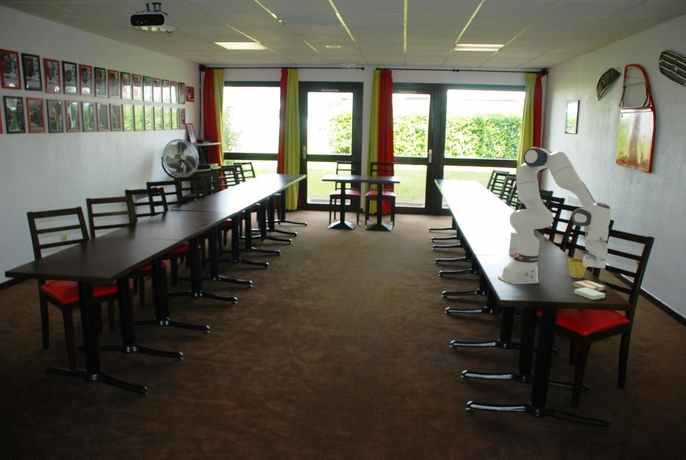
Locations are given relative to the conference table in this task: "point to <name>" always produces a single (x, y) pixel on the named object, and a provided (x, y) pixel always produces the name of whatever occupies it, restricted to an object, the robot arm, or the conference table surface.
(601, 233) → the robot arm
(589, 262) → the housing
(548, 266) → the conference table surface
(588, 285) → the stand
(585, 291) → the stand
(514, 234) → the supplement box
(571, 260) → the plant pot
